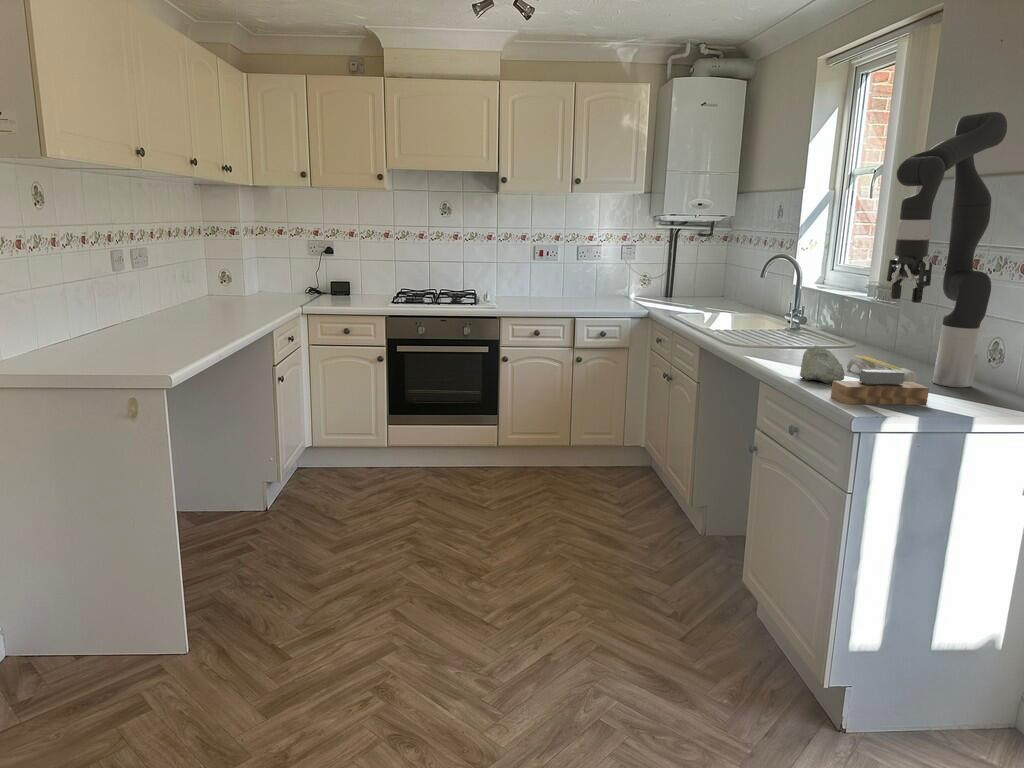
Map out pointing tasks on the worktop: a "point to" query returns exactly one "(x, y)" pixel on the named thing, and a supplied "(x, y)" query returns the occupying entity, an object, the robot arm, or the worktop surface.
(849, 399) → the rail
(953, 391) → the worktop surface
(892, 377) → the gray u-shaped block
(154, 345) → the worktop surface
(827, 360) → the decorative stone
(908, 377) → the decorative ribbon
